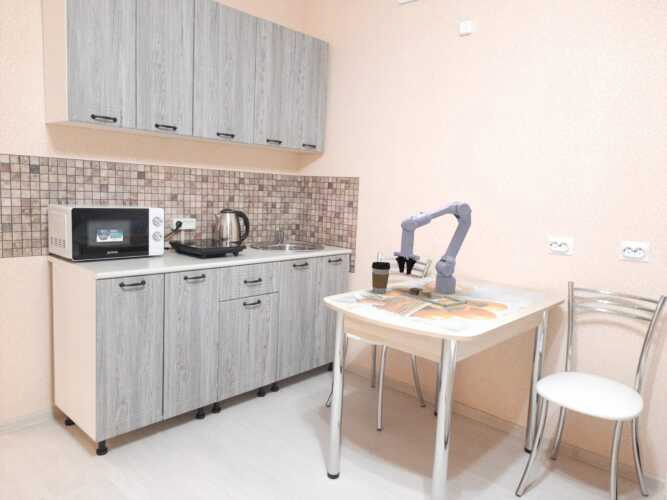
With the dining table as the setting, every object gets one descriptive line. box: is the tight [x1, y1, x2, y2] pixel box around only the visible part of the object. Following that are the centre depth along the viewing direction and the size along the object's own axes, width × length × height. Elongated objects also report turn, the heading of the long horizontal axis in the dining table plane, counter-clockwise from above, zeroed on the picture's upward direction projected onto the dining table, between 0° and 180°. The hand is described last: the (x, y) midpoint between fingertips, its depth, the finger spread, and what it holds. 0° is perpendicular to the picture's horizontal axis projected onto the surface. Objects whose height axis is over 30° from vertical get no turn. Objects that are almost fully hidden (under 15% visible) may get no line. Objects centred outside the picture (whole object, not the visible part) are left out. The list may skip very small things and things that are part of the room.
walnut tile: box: [409, 287, 423, 295], centre depth 229 cm, size 4×4×2 cm
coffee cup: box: [371, 261, 391, 295], centre depth 229 cm, size 8×8×15 cm
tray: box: [422, 294, 467, 308], centre depth 217 cm, size 14×12×2 cm
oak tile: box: [419, 289, 433, 298], centre depth 225 cm, size 4×4×2 cm
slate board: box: [397, 291, 444, 302], centre depth 227 cm, size 14×15×1 cm
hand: (405, 273), depth 234 cm, fingers open, 4 cm apart
